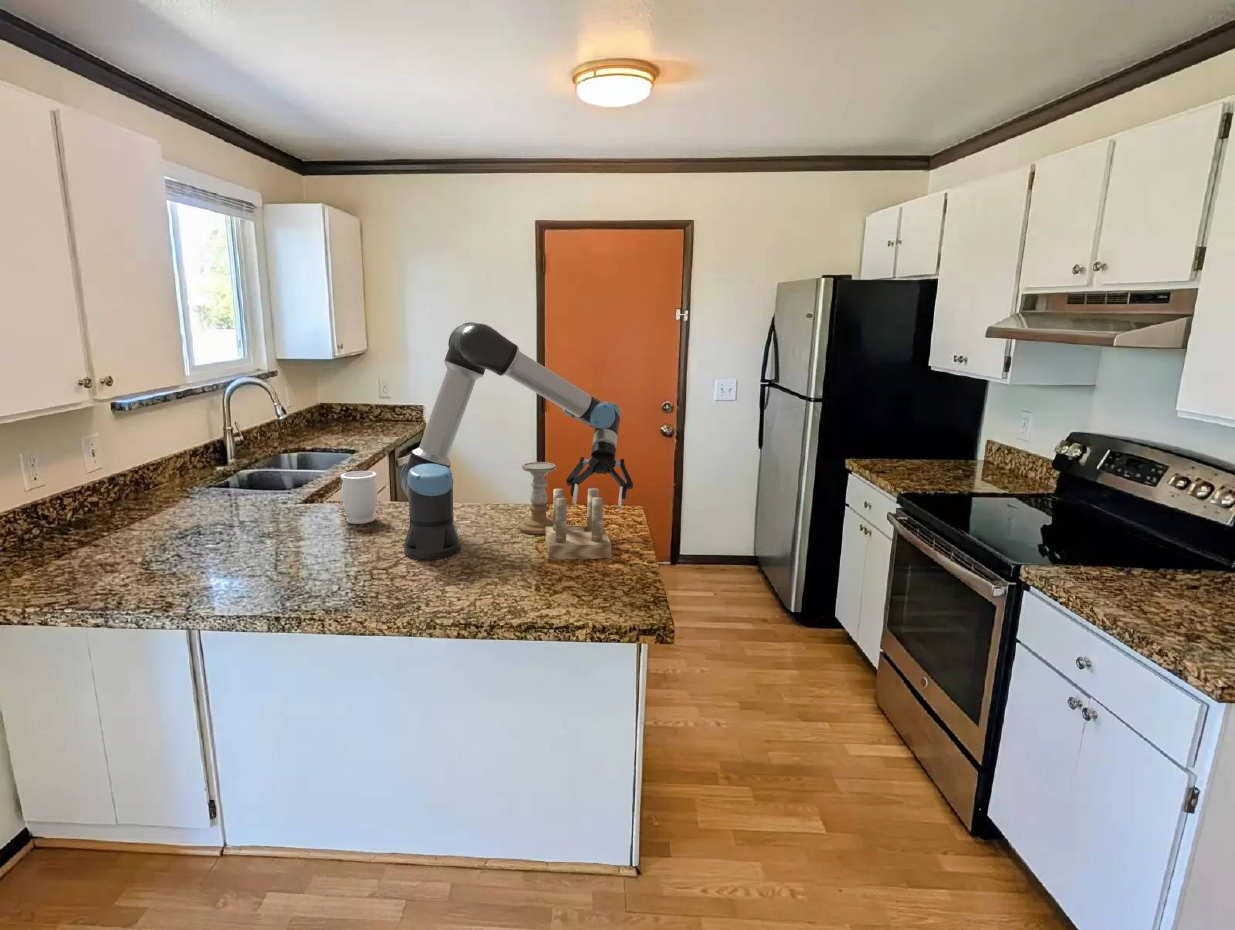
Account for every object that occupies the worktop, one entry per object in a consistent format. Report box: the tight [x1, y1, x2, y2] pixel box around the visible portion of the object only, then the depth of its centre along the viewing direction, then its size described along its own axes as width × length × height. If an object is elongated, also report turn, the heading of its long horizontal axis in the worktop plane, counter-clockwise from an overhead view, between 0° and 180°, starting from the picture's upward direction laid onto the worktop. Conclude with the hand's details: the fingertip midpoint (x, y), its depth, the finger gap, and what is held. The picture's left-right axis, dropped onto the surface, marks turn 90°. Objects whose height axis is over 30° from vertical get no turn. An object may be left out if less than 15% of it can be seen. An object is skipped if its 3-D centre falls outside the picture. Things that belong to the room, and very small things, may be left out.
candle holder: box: [518, 461, 557, 535], centre depth 204 cm, size 12×12×20 cm
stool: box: [544, 488, 612, 561], centre depth 188 cm, size 17×17×16 cm
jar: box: [340, 470, 378, 525], centre depth 207 cm, size 11×10×15 cm
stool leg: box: [586, 487, 600, 532], centre depth 193 cm, size 3×3×16 cm
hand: (596, 506), depth 196 cm, fingers open, 13 cm apart
